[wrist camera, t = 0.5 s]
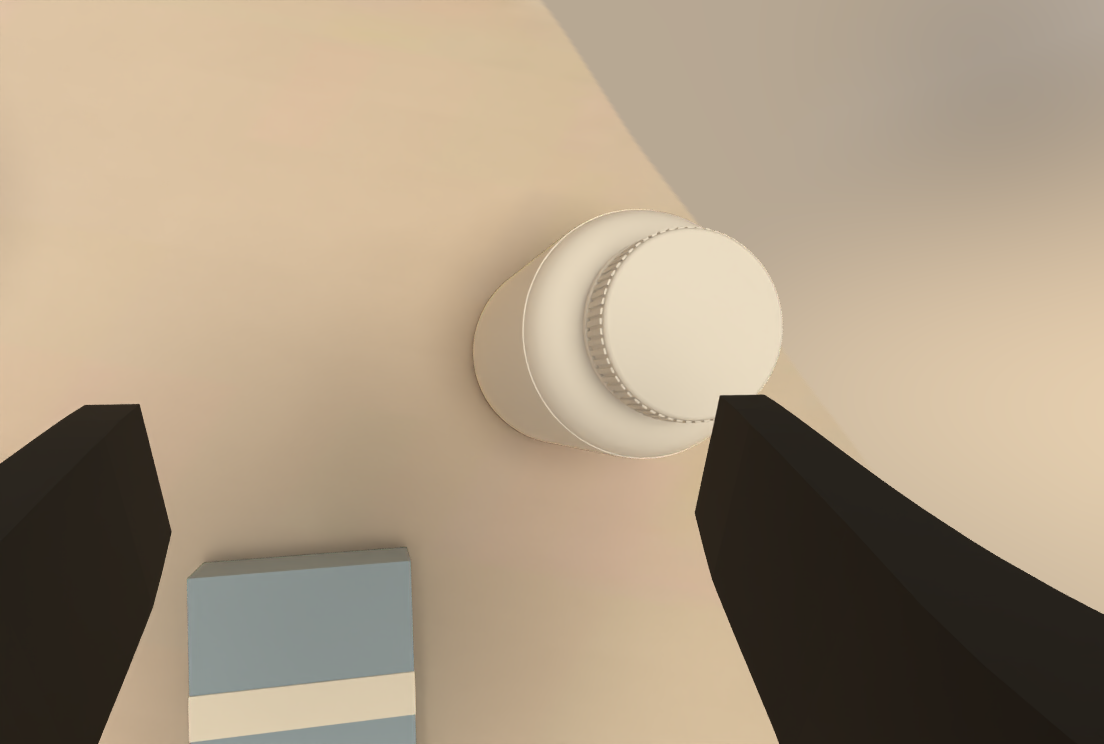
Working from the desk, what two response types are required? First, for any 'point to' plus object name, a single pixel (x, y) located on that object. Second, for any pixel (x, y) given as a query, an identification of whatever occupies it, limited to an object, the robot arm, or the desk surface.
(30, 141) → the desk surface
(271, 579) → the carton
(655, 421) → the pill bottle
